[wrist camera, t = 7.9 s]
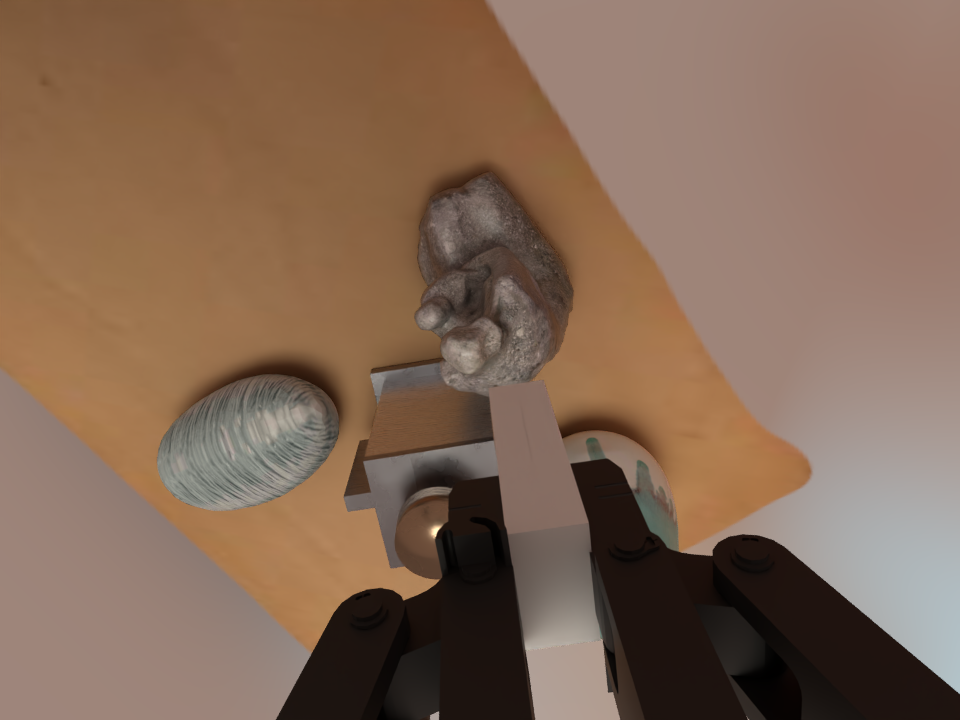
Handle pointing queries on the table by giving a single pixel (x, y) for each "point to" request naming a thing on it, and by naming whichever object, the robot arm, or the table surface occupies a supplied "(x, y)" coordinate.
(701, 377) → the table surface
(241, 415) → the striped grey egg shape
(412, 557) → the plunger
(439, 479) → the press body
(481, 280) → the figurine
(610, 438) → the vase
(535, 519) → the robot arm
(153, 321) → the table surface
